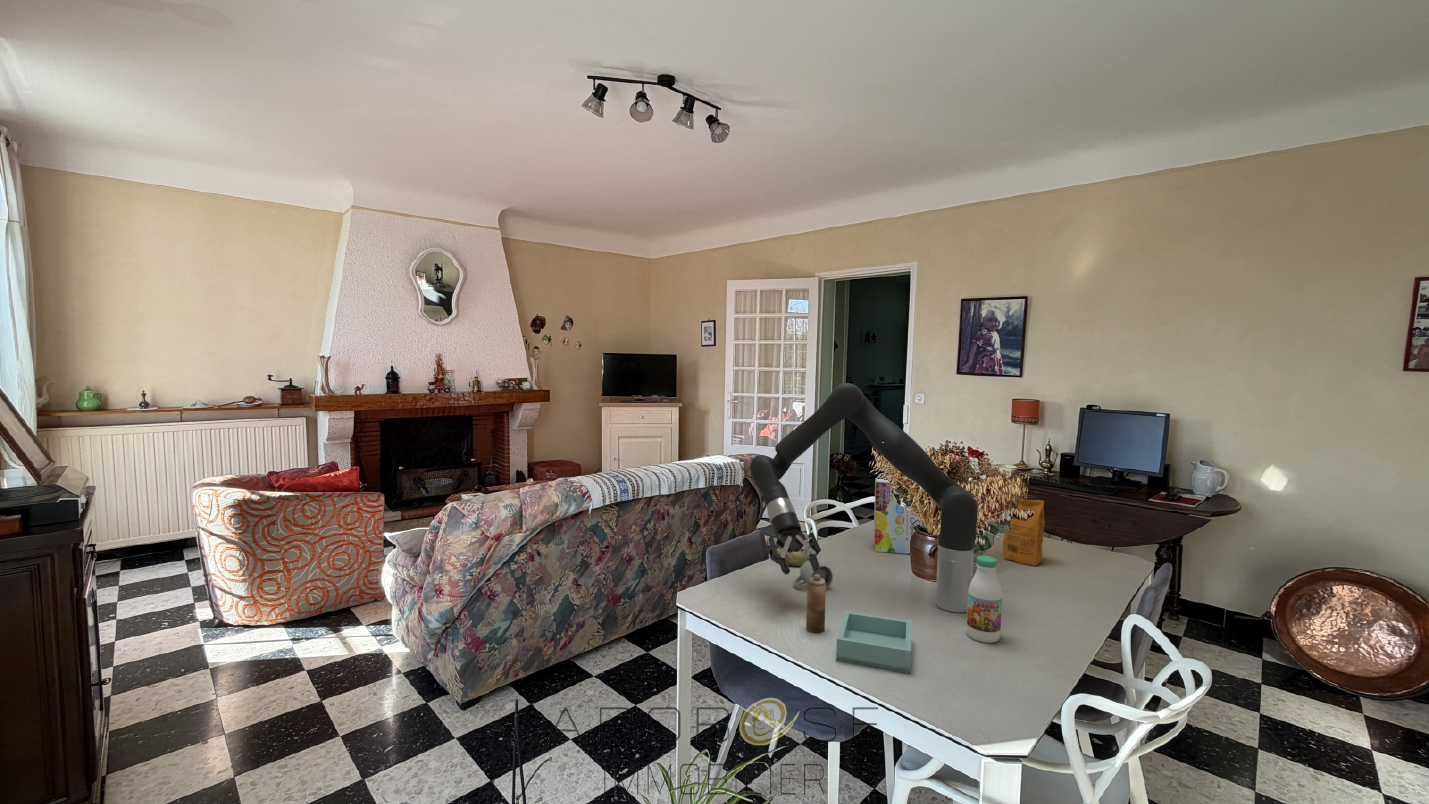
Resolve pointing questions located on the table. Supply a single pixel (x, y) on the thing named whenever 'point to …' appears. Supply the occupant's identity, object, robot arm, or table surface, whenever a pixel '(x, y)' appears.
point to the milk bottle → (984, 602)
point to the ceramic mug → (808, 572)
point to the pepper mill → (816, 604)
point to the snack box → (891, 521)
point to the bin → (875, 641)
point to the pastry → (795, 557)
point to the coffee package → (1025, 535)
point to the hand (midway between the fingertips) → (802, 571)
